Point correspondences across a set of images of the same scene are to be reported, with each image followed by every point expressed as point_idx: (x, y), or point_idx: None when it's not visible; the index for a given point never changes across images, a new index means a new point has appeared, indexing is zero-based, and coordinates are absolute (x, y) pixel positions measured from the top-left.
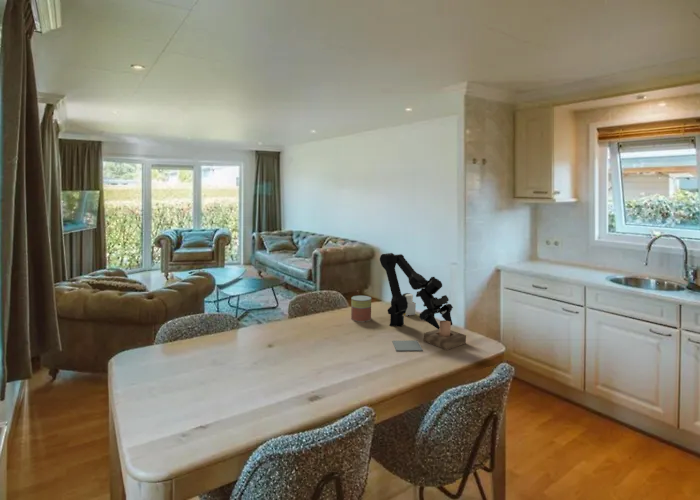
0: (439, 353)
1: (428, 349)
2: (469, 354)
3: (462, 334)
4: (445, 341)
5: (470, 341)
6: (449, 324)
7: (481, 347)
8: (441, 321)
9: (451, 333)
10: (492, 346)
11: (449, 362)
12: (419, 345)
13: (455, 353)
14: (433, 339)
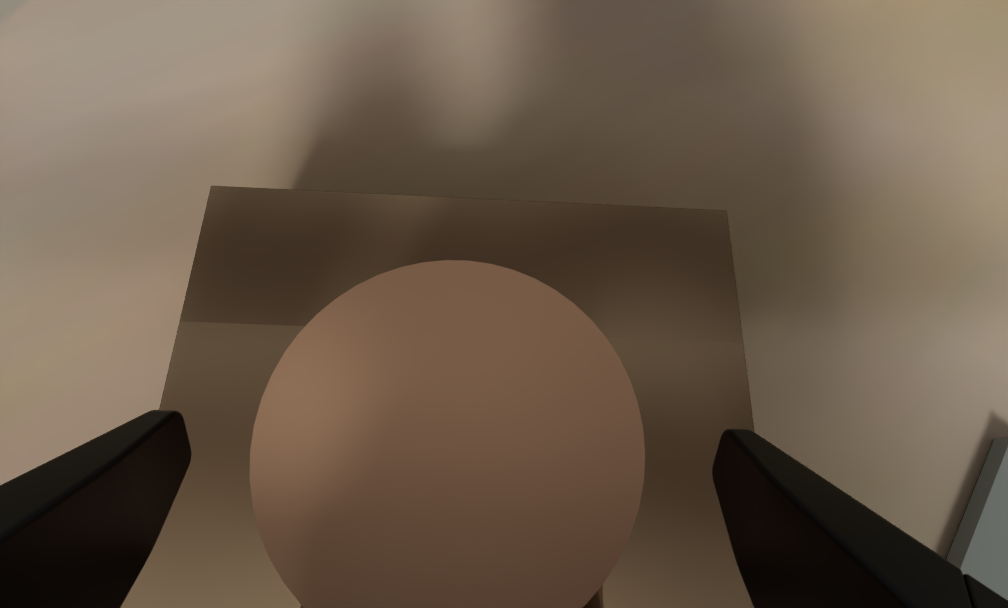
0: (836, 252)
1: (881, 429)
2: (557, 44)
3: (217, 245)
4: (725, 240)
5: (139, 252)
6: (459, 276)
7: (256, 66)
8: (508, 589)
9: None
10: (129, 11)
11: (898, 57)
12: None
13: (667, 143)
14: None
